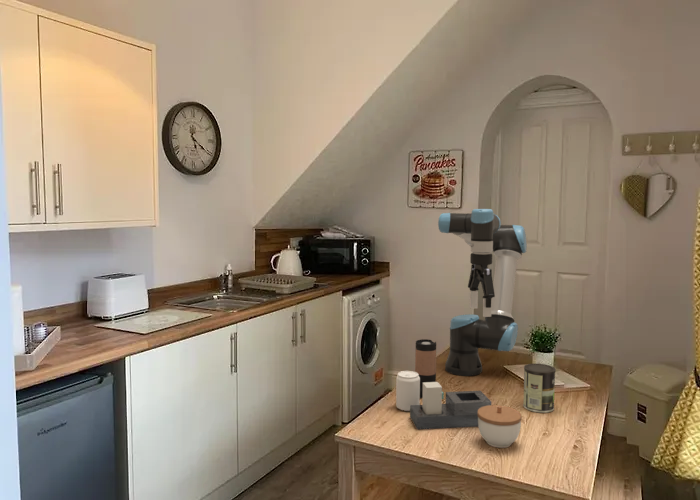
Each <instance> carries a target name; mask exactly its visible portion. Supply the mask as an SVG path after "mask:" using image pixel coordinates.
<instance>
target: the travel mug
mask: <svg viewBox="0 0 700 500" xmlns="http://www.w3.org/2000/svg"><path fill="white" fill-rule="evenodd" d="M414 356H415V358H414V360H415V362H414V364H415V365H414V372H417V373H418V374H419V377H420V399H423V382H437V341H435V342H434V341H433V340H431V339H423V338H422V339H417V340H416V341H415V355H414Z"/></svg>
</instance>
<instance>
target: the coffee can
mask: <svg viewBox="0 0 700 500" xmlns="http://www.w3.org/2000/svg"><path fill="white" fill-rule="evenodd" d="M523 370H524V371H523V374H524V376H523V406H522V407H524V409H526V410H527V411H530V412H533V413H540V414H541V413H542V414H548V413H551V412H553V411H554V410H555V389H556V388H555V384H556V383H555V382H556V368H555V367H553V366H552V365H549V364H546V363H528V364H527V363H526V364H525V365H524V366H523Z"/></svg>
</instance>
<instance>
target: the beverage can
mask: <svg viewBox="0 0 700 500" xmlns="http://www.w3.org/2000/svg"><path fill="white" fill-rule="evenodd" d="M395 379H396V381H395V382H396V385H395V386H396V387H395V389H396V390H395V391H396V392H395V398H396V399H395V407H396V408H397V409H399V410H401V411H403V410H404V411H403V412H410V405H421V401H420V400H421V398H420V377H419V374H418V373H417V372H415V370H414V371H413V370H402V371H399V372H397V376H396V378H395Z"/></svg>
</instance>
